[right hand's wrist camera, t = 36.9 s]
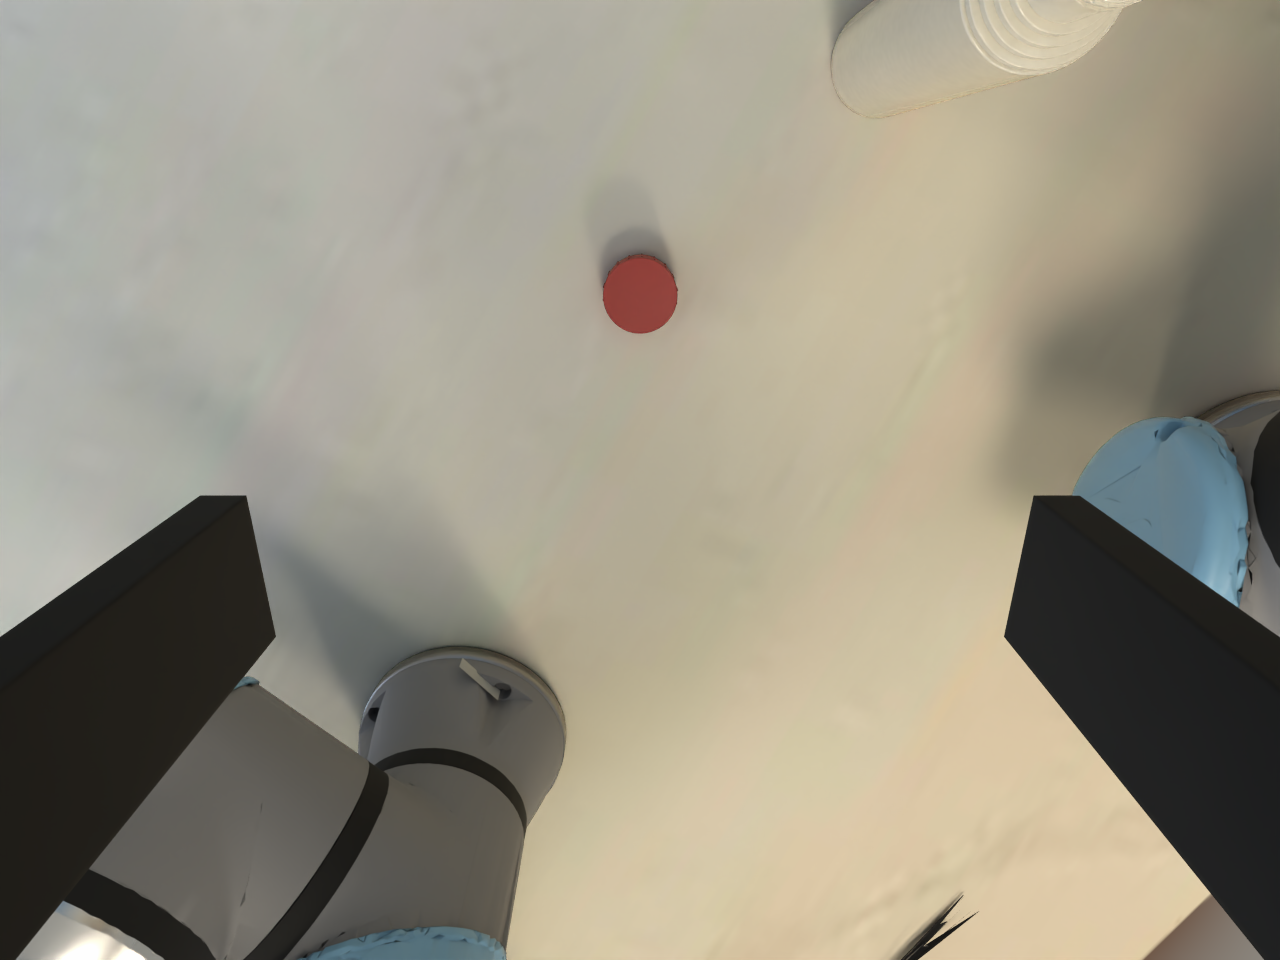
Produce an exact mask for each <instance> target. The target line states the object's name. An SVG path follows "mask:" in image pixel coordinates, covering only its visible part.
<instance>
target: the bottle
mask: <svg viewBox="0 0 1280 960" xmlns="http://www.w3.org/2000/svg"><path fill="white" fill-rule="evenodd" d="M1140 1H1142V0H874V1H872V2H871V3H870V4H869V5H867V6H866V7H865V8H864V9H862V10H861V11H860V12H858V13H857V14H856V15H855V16H854V17H853V18H852V19H851V20H850V21H849V22H848V23H847V24H846V25H845V27H844V28H843V30H842V31H841V33H840V34H839V37H838V39H837V41H836V43H835V46H834V50H833V54H832V61H831V73H832V80H833V84H834V87H835V90H836V92H837V94H838V96H839V98H840V99H841V100H842V102H843V103H844V104H845V105H846V106H847V107H848V108H849V109H850V110H852V111H853V112H855V113H857V114H859V115H861V116H864V117H868V118H885V117H889V116H893V115H897V114H900V113H904V112H908V111H911V110H915V109H919V108H922V107H926V106H930V105H933V104H937V103H941V102H944V101H948V100H952V99H955V98H959V97H963V96H966V95H970V94H974V93H977V92H981V91H985V90H988V89H992V88H996V87H999V86H1003V85H1007V84H1010V83H1014V82H1018V81H1021V80H1025V79H1029V78H1032V77H1036V76H1040V75H1043V74H1047V73H1051V72H1054V71H1057V70H1059V69H1062V68H1064V67H1066V66H1068V65H1070V64H1072V63H1073V62H1075V61H1076V60H1078V59H1079V58H1081V57H1082V56H1084V55H1085V54H1086V53H1087V52H1088V51H1090V50H1091V49H1092V48H1093V47H1094V46H1095V45H1096V44H1097V43H1098V42H1099V41H1100V40H1101V38H1102V37H1103V36H1104V35H1105V34H1106V33H1107V32H1108V31H1109V29H1110V28H1111V27H1112V25H1113V24H1114V23H1115V21H1116V20H1117V18H1118V16H1119V15H1120V13H1121V11H1122V9H1123V7H1127V6H1130V5H1132V4H1135V3H1138V2H1140Z"/></svg>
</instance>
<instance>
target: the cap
mask: <svg viewBox="0 0 1280 960" xmlns="http://www.w3.org/2000/svg"><path fill="white" fill-rule="evenodd" d="M603 288H604V291H603V301H604V305H605V309H606V311H607V314H608V315H609V317H610V318H611V319H612V321H613V322H614V323H615V324H616V325H618V326H619V327H620V328H622V329H624V330H626V331H629V332H632V333H648V332H652V331H654V330H657V329H658V328H660V327H662V326H663V325H664V324H665V323H666V322H667V321H668V320H669V319H670V317H671V316H672V314H673V312H674V310H675V307H676V304H677V291H678V289H677V287H676V284H675V281H674V276H673V274H671V272H670V271H669V269H668V268H667V267H666V264H663V263H662V262H661V261H659V260H658V259H656V258H655V257H651V256H648V255H643V254H641V255H633V256H630V255H629V256H628V257H627V258H624V259H623V260H621V261H620V262H619V261H618V262H617V264H616V265H615V266H614V267H613V268H612V270H611V271H609V273H608V277H607V280H606V283H604V286H603Z"/></svg>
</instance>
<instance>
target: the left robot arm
mask: <svg viewBox="0 0 1280 960" xmlns="http://www.w3.org/2000/svg"><path fill="white" fill-rule="evenodd" d="M1072 496H1081V497H1082V498H1084V499H1085V500H1087V501H1088V502H1089V503H1091V504H1092V505H1094V506H1095V507H1097V508H1098V509H1099V510H1101V511H1102V512H1104V513H1105V514H1106V515H1108V516H1109V517H1111V518H1112V519H1114V520H1115V521H1116V522H1118V523H1119V524H1121V525H1122V526H1123V527H1125V528H1126V529H1128V530H1129V531H1130V532H1132V533H1133V534H1135V535H1136V536H1138V537H1139V538H1140V539H1142V540H1143V541H1145V542H1146V543H1147V544H1149V545H1150V546H1152V547H1153V548H1155V549H1156V550H1157V551H1159V552H1160V553H1162V554H1163V555H1164V556H1166V557H1167V558H1169V559H1170V560H1171V561H1173V562H1174V563H1176V564H1177V565H1179V566H1180V567H1181V568H1183V569H1184V570H1186V571H1187V572H1188V573H1190V574H1191V575H1193V576H1194V577H1196V578H1197V579H1198V580H1200V581H1201V582H1203V583H1204V584H1205V585H1207V586H1208V587H1210V588H1211V589H1212V590H1214V591H1215V592H1217V593H1218V594H1220V595H1221V596H1222V597H1224V598H1225V599H1227V600H1228V601H1229V602H1231V603H1232V604H1234V605H1235V606H1237V607H1238V608H1239V609H1241V610H1242V611H1244V612H1245V613H1246V614H1248V615H1249V616H1251V617H1252V618H1253V619H1255V620H1256V621H1258V622H1259V623H1261V624H1262V625H1263V626H1265V627H1266V628H1268V629H1269V630H1270V631H1272V632H1273V633H1275V634H1276V635H1278V636H1279V637H1280V391H1267V392H1261V393H1255V394H1251V395H1247V396H1243V397H1240V398H1237V399H1234V400H1231V401H1228V402H1226V403H1224V404H1221V405H1219V406H1217V407H1215V408H1213V409H1211V410H1209V411H1208V412H1206V413H1204V414H1203V415H1201V416H1199V417H1198V418H1194V417H1191V416H1190V417H1183V418H1181V419H1179V418H1172V417H1155V418H1150V419H1145V420H1142V421H1139V422H1136V423H1134V424H1132V425H1130V426H1128V427H1126V428H1124V429H1123V430H1121V431H1119V432H1118V433H1117V434H1115V435H1114V436H1113V437H1112V438H1111V439H1110V440H1109V441H1107V442H1106V443H1105V444H1104V445H1103V446H1102V447H1101V448H1100V449H1099V450H1098V451H1097V453H1096V454H1095V455H1094V456H1093V458H1092V459H1091V460H1090V462H1089V463H1088V464H1087V466H1086V468H1085V469H1084V471H1083V472H1082V474H1081V476H1080V477H1079V479H1078V481H1077V483H1076V485H1075V487H1074V490H1073V494H1072Z"/></svg>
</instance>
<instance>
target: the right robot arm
mask: <svg viewBox="0 0 1280 960" xmlns="http://www.w3.org/2000/svg"><path fill="white" fill-rule="evenodd" d="M275 637H276V635H275V630H274V625H273V620H272V616H271V611H270V606H269V601H268V597H267V592H266V587H265V582H264V578H263V573H262V568H261V563H260V559H259V554H258V549H257V544H256V540H255V535H254V530H253V525H252V521H251V516H250V511H249V506H248V502H247V497H246V496H199V497H198V498H196V499H195V500H193V501H192V502H191V503H189V504H188V505H186V506H185V507H183V508H182V509H181V510H179V511H178V512H176V513H175V514H174V515H172V516H171V517H169V518H168V519H166V520H165V521H164V522H162V523H161V524H159V525H158V526H157V527H155V528H154V529H152V530H151V531H150V532H148V533H147V534H145V535H144V536H142V537H141V538H140V539H138V540H137V541H135V542H134V543H133V544H131V545H130V546H128V547H127V548H125V549H124V550H123V551H121V552H120V553H118V554H117V555H116V556H114V557H113V558H111V559H110V560H109V561H107V562H106V563H104V564H103V565H101V566H100V567H99V568H97V569H96V570H94V571H93V572H92V573H90V574H89V575H87V576H86V577H84V578H83V579H82V580H80V581H79V582H77V583H76V584H75V585H73V586H72V587H70V588H69V589H68V590H66V591H65V592H63V593H62V594H60V595H59V596H58V597H56V598H55V599H53V600H52V601H51V602H49V603H48V604H46V605H45V606H43V607H42V608H41V609H39V610H38V611H36V612H35V613H34V614H32V615H31V616H29V617H28V618H27V619H25V620H24V621H22V622H21V623H19V624H18V625H17V626H15V627H14V628H12V629H11V630H10V631H8V632H7V633H5V634H4V635H2V636H1V637H0V960H506V946H507V940H508V935H509V929H510V923H511V917H512V911H513V905H514V899H515V893H516V887H517V881H518V875H519V869H520V863H521V857H522V851H523V845H524V838H525V833H526V828H527V826H528V825H529V823H530V821H531V820H532V818H533V816H534V815H535V813H536V811H537V810H538V808H539V806H540V805H541V803H542V801H543V799H544V798H545V796H546V794H547V793H548V792H549V791H550V789H551V788H552V786H553V785H554V783H555V781H556V778H557V776H558V773H559V770H560V768H561V765H562V761H563V757H564V750H565V742H566V726H565V720H564V716H563V712H562V710H561V707H560V705H559V703H558V701H557V699H556V697H555V696H554V694H553V693H552V691H551V690H550V689H549V687H548V686H547V685H546V684H545V683H544V682H543V681H542V680H541V679H540V678H539V677H538V676H537V675H536V674H535V673H533V672H532V671H531V670H530V669H528V668H527V667H525V666H524V665H522V664H520V663H518V662H517V661H515V660H513V659H511V658H508V657H506V656H504V655H501V654H498V653H495V652H492V651H488V650H483V649H478V648H470V647H445V648H438V649H433V650H429V651H425V652H422V653H419V654H416V655H414V656H412V657H410V658H408V659H406V660H404V661H402V662H401V663H399V664H398V665H396V666H395V667H394V668H392V669H391V670H390V671H389V672H388V673H387V674H386V675H385V676H384V677H383V678H382V679H381V681H380V682H379V684H378V685H377V687H376V688H375V690H374V692H373V694H372V696H371V698H370V700H369V702H368V703H367V705H366V708H365V711H364V713H363V717H362V721H361V725H360V730H359V745H358V753H356V752H355V751H353V750H352V749H351V748H349V747H348V746H346V745H345V744H343V743H342V742H340V741H339V740H338V739H336V738H335V737H333V736H332V735H330V734H329V733H327V732H326V731H325V730H323V729H322V728H320V727H319V726H317V725H316V724H314V723H313V722H312V721H310V720H309V719H307V718H306V717H304V716H303V715H301V714H300V713H298V712H297V711H296V710H294V709H293V708H291V707H290V706H288V705H287V704H285V703H284V702H283V701H281V700H280V699H278V698H277V697H275V696H274V695H272V694H271V693H270V692H268V691H267V690H265V689H264V688H262V687H261V686H259V681H258V680H256V679H255V678H253V677H244V676H245V674H246V673H247V672H248V671H249V669H250V668H251V667H252V666H253V664H254V663H255V662H256V661H257V660H258V658H259V657H260V656H261V655H262V653H263V652H264V651H265V650H266V648H267V647H268V646H269V645H270V643H271V642H272V641H273V640H274V638H275ZM1004 637H1005V638H1006V640H1007V641H1008V642H1009V643H1010V645H1011V646H1012V647H1013V648H1014V650H1015V651H1016V652H1017V653H1018V655H1019V656H1020V657H1021V658H1022V660H1023V661H1024V662H1025V663H1026V664H1027V666H1028V667H1029V668H1030V669H1031V671H1032V672H1033V673H1034V674H1035V676H1036V677H1037V678H1038V679H1039V681H1040V682H1041V683H1042V684H1043V686H1044V687H1045V688H1046V689H1047V691H1048V692H1049V693H1050V694H1051V696H1052V697H1053V698H1054V699H1055V700H1056V702H1057V703H1058V704H1059V705H1060V707H1061V708H1062V709H1063V710H1064V712H1065V713H1066V714H1067V715H1068V717H1069V718H1070V719H1071V720H1072V722H1073V723H1074V724H1075V725H1076V727H1077V728H1078V729H1079V730H1080V732H1081V733H1082V734H1083V735H1084V737H1085V738H1086V739H1087V740H1088V741H1089V743H1090V744H1091V745H1092V746H1093V748H1094V749H1095V750H1096V751H1097V753H1098V754H1099V755H1100V756H1101V758H1102V759H1103V760H1104V761H1105V763H1106V764H1107V765H1108V766H1109V768H1110V769H1111V770H1112V771H1113V773H1114V774H1115V775H1116V776H1117V777H1118V779H1119V780H1120V781H1121V782H1122V784H1123V785H1124V786H1125V787H1126V789H1127V790H1128V791H1129V792H1130V794H1131V795H1132V796H1133V797H1134V799H1135V800H1136V801H1137V802H1138V804H1139V805H1140V806H1141V807H1142V809H1143V810H1144V811H1145V812H1146V813H1147V815H1148V816H1149V817H1150V818H1151V820H1152V821H1153V822H1154V823H1155V825H1156V826H1157V827H1158V828H1159V830H1160V831H1161V832H1162V833H1163V835H1164V836H1165V837H1166V838H1167V840H1168V841H1169V842H1170V843H1171V845H1172V846H1173V847H1174V848H1175V849H1176V851H1177V852H1178V853H1179V854H1180V856H1181V857H1182V858H1183V859H1184V861H1185V862H1186V863H1187V864H1188V866H1189V867H1190V868H1191V869H1192V871H1193V872H1194V873H1195V874H1196V876H1197V877H1198V878H1199V879H1200V881H1201V882H1202V883H1203V884H1204V885H1205V887H1206V888H1207V889H1208V890H1209V892H1210V893H1211V894H1212V895H1213V897H1214V898H1215V899H1216V900H1217V902H1218V903H1219V904H1220V905H1221V906H1222V908H1223V909H1224V910H1225V912H1226V913H1227V914H1228V915H1229V917H1230V918H1231V919H1232V920H1233V922H1234V923H1235V924H1236V925H1237V926H1238V928H1239V929H1240V930H1241V931H1242V933H1243V934H1244V935H1245V936H1246V937H1247V939H1248V940H1249V941H1250V943H1251V944H1252V945H1253V946H1254V948H1255V949H1256V950H1257V951H1258V953H1259V954H1260V955H1261V956H1262V958H1263V959H1264V960H1280V637H1279V636H1278V635H1276V634H1275V633H1273V632H1272V631H1270V630H1269V629H1268V628H1266V627H1265V626H1263V625H1262V624H1261V623H1259V622H1258V621H1256V620H1255V619H1253V618H1252V617H1251V616H1249V615H1248V614H1246V613H1245V612H1244V611H1242V610H1241V609H1239V608H1238V607H1237V606H1235V605H1234V604H1232V603H1231V602H1229V601H1228V600H1227V599H1225V598H1224V597H1222V596H1221V595H1220V594H1218V593H1217V592H1215V591H1214V590H1212V589H1211V588H1210V587H1208V586H1207V585H1205V584H1204V583H1203V582H1201V581H1200V580H1198V579H1197V578H1196V577H1194V576H1193V575H1191V574H1190V573H1188V572H1187V571H1186V570H1184V569H1183V568H1181V567H1180V566H1179V565H1177V564H1176V563H1174V562H1173V561H1171V560H1170V559H1169V558H1167V557H1166V556H1164V555H1163V554H1162V553H1160V552H1159V551H1157V550H1156V549H1155V548H1153V547H1152V546H1150V545H1149V544H1147V543H1146V542H1145V541H1143V540H1142V539H1140V538H1139V537H1138V536H1136V535H1135V534H1133V533H1132V532H1130V531H1129V530H1128V529H1126V528H1125V527H1123V526H1122V525H1121V524H1119V523H1118V522H1116V521H1115V520H1114V519H1112V518H1111V517H1109V516H1108V515H1106V514H1105V513H1104V512H1102V511H1101V510H1099V509H1098V508H1097V507H1095V506H1094V505H1092V504H1091V503H1089V502H1088V501H1087V500H1085V499H1084V498H1082V497H1081V496H1034V497H1033V502H1032V506H1031V511H1030V516H1029V521H1028V525H1027V530H1026V535H1025V540H1024V544H1023V549H1022V554H1021V559H1020V563H1019V568H1018V573H1017V578H1016V582H1015V587H1014V592H1013V597H1012V601H1011V606H1010V611H1009V616H1008V620H1007V625H1006V630H1005V635H1004Z"/></svg>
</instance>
